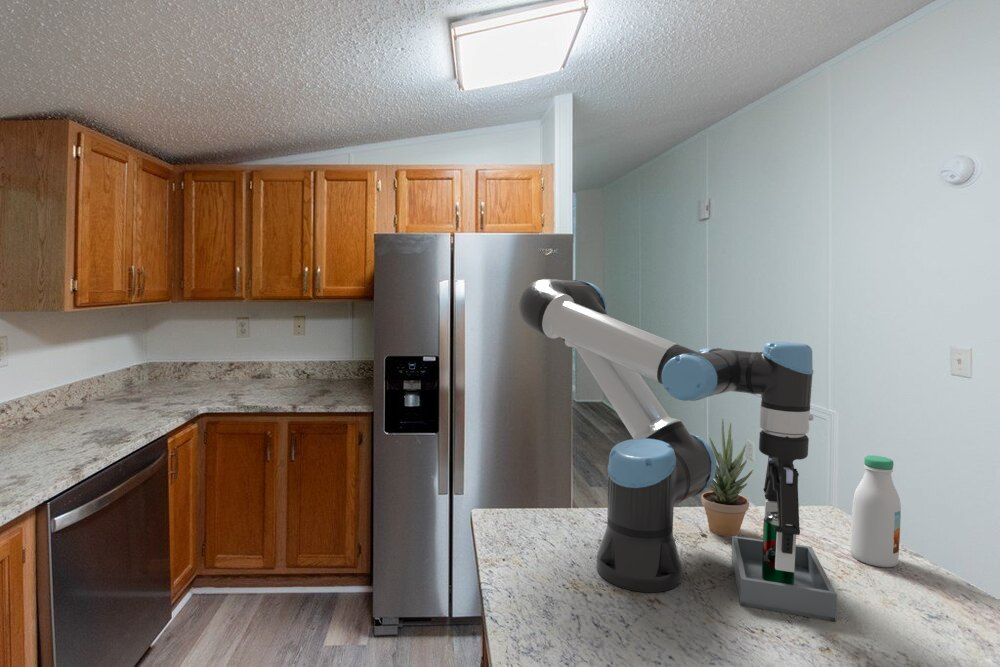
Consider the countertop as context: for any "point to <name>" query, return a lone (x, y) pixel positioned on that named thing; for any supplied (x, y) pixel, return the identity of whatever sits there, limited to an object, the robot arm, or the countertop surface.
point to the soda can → (772, 552)
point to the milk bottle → (876, 515)
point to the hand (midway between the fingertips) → (777, 552)
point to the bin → (801, 598)
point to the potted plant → (726, 491)
